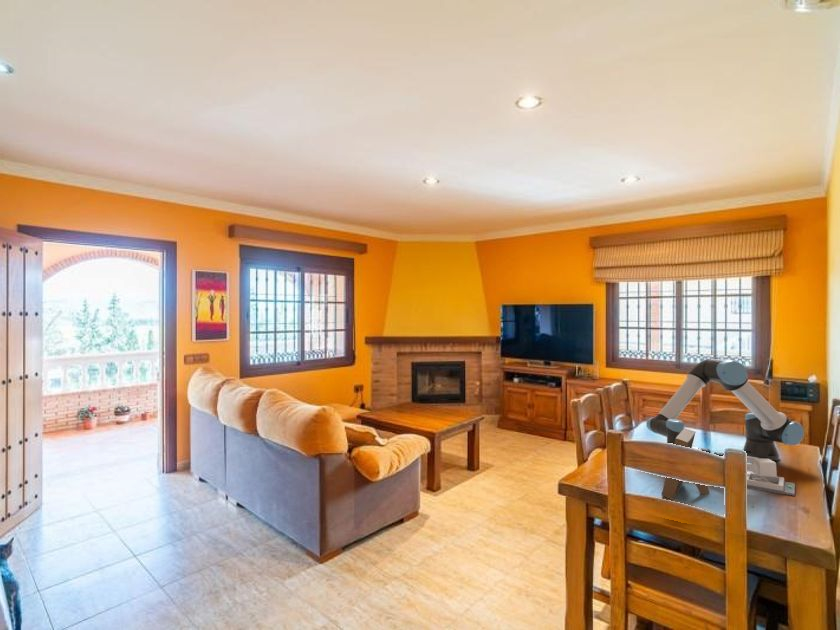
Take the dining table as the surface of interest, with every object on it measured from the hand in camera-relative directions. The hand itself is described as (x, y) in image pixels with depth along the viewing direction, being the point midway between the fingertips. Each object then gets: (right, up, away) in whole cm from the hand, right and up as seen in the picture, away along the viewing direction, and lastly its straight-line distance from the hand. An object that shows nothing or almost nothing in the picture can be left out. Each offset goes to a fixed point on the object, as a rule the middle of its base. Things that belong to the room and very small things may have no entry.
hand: (757, 464), depth 189 cm
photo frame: (-36, -9, -8) cm, 38 cm away
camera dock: (+2, -9, -1) cm, 9 cm away
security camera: (+2, -8, -1) cm, 8 cm away
